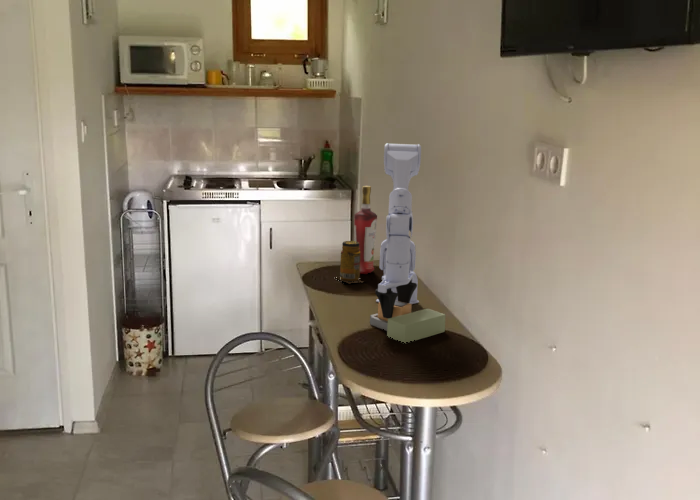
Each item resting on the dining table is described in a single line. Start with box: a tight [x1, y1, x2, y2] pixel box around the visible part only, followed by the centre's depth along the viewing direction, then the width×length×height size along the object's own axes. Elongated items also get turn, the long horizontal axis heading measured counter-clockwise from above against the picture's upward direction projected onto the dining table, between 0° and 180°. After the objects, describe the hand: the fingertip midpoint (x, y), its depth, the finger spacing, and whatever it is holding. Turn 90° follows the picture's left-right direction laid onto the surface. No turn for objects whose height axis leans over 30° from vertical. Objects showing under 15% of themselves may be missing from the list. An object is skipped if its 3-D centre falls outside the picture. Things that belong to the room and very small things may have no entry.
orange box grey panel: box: [377, 301, 413, 321], centre depth 178 cm, size 4×7×6 cm, turn 55°
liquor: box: [353, 185, 378, 275], centre depth 227 cm, size 7×7×28 cm
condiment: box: [336, 240, 361, 283], centre depth 219 cm, size 7×8×12 cm
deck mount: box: [369, 307, 447, 344], centre depth 177 cm, size 14×16×4 cm
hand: (395, 314), depth 178 cm, fingers open, 7 cm apart
